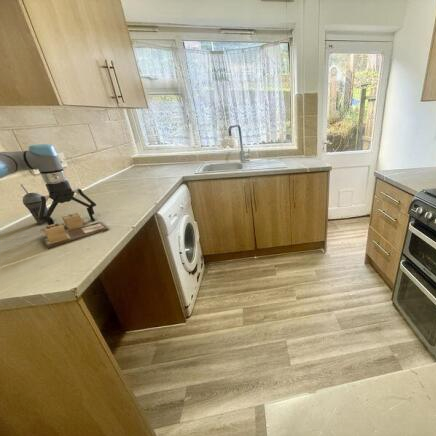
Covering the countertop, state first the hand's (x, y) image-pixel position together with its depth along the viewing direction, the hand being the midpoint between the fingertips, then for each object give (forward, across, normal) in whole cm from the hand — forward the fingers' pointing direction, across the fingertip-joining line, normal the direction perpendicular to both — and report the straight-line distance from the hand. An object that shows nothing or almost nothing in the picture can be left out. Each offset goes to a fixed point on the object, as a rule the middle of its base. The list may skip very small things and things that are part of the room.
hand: (75, 226), depth 114 cm
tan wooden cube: (0, 0, 0) cm, 0 cm away
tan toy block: (-1, -8, -13) cm, 15 cm away
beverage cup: (0, -8, +15) cm, 17 cm away
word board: (0, -2, -13) cm, 13 cm away
